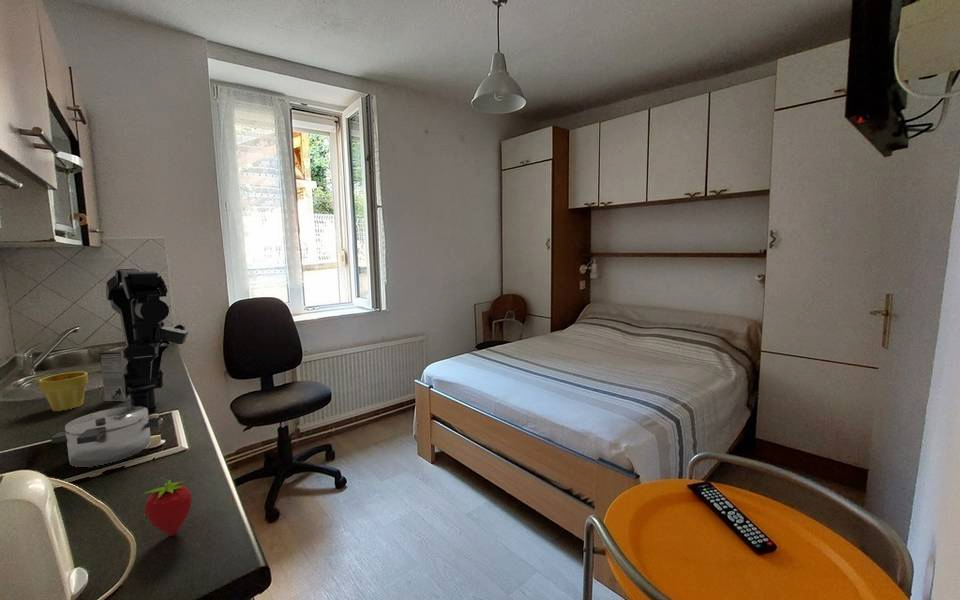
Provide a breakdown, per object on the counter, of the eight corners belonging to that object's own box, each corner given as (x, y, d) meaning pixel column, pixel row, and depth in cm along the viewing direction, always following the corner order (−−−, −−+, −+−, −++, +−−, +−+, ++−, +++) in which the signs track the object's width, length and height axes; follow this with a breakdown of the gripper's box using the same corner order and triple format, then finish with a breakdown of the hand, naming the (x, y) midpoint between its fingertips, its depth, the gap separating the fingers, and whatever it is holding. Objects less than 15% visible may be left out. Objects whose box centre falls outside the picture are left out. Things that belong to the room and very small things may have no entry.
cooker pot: (72, 448, 96) (68, 420, 95) (169, 432, 104) (166, 406, 103) (41, 476, 83) (37, 444, 83) (154, 455, 92) (151, 425, 91)
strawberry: (150, 557, 60) (143, 493, 59) (146, 532, 66) (140, 473, 65) (198, 538, 64) (192, 478, 63) (191, 516, 70) (185, 460, 69)
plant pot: (60, 415, 118) (56, 382, 117) (33, 412, 120) (28, 380, 119) (100, 402, 128) (96, 372, 127) (74, 400, 130) (70, 370, 129)
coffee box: (125, 393, 136) (120, 346, 135) (146, 392, 137) (141, 345, 135) (104, 402, 127) (98, 352, 126) (126, 401, 128) (120, 351, 126)
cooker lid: (81, 417, 96) (80, 408, 96) (155, 406, 102) (154, 398, 102) (39, 450, 79) (38, 439, 79) (131, 435, 85) (130, 425, 85)
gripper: (176, 321, 102) (181, 381, 104) (190, 312, 119) (195, 364, 121) (119, 324, 98) (126, 388, 99) (142, 315, 114) (147, 369, 116)
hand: (152, 376), depth 109 cm, fingers open, 9 cm apart
